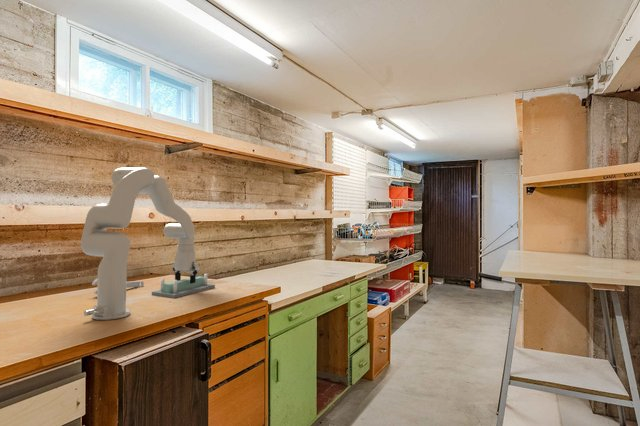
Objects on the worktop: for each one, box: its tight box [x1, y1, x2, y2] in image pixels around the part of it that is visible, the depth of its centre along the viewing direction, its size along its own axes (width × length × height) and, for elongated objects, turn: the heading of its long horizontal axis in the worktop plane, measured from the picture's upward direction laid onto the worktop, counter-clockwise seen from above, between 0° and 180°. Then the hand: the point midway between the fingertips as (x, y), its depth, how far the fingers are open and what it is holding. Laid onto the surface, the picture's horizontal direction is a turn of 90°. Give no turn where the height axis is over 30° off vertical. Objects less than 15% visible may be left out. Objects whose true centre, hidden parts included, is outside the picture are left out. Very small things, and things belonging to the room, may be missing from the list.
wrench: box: [91, 278, 145, 295], centre depth 183 cm, size 8×2×30 cm
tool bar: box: [163, 276, 204, 293], centre depth 186 cm, size 24×4×4 cm, turn 156°
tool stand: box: [151, 273, 216, 299], centre depth 186 cm, size 28×14×8 cm, turn 156°
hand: (185, 282), depth 186 cm, fingers open, 9 cm apart
